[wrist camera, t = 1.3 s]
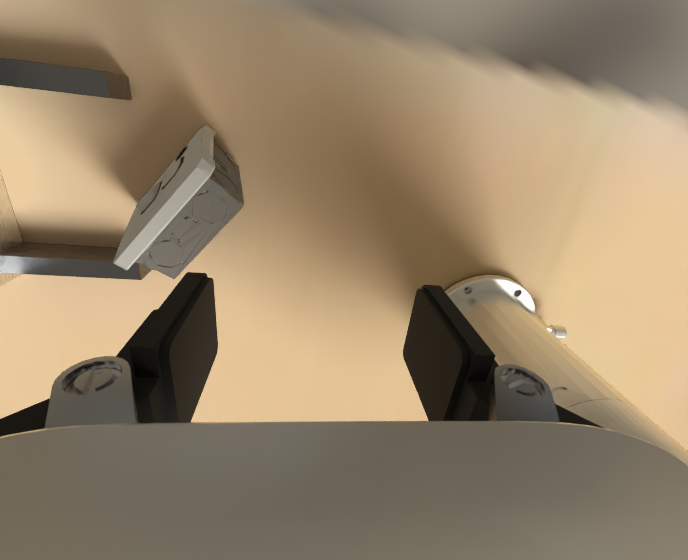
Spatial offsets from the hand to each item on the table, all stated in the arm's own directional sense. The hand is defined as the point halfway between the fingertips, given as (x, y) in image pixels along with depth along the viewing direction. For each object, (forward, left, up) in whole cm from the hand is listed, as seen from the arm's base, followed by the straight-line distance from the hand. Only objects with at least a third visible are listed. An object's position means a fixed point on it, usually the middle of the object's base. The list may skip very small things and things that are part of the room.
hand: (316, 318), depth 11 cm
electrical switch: (+9, 0, -20) cm, 22 cm away
